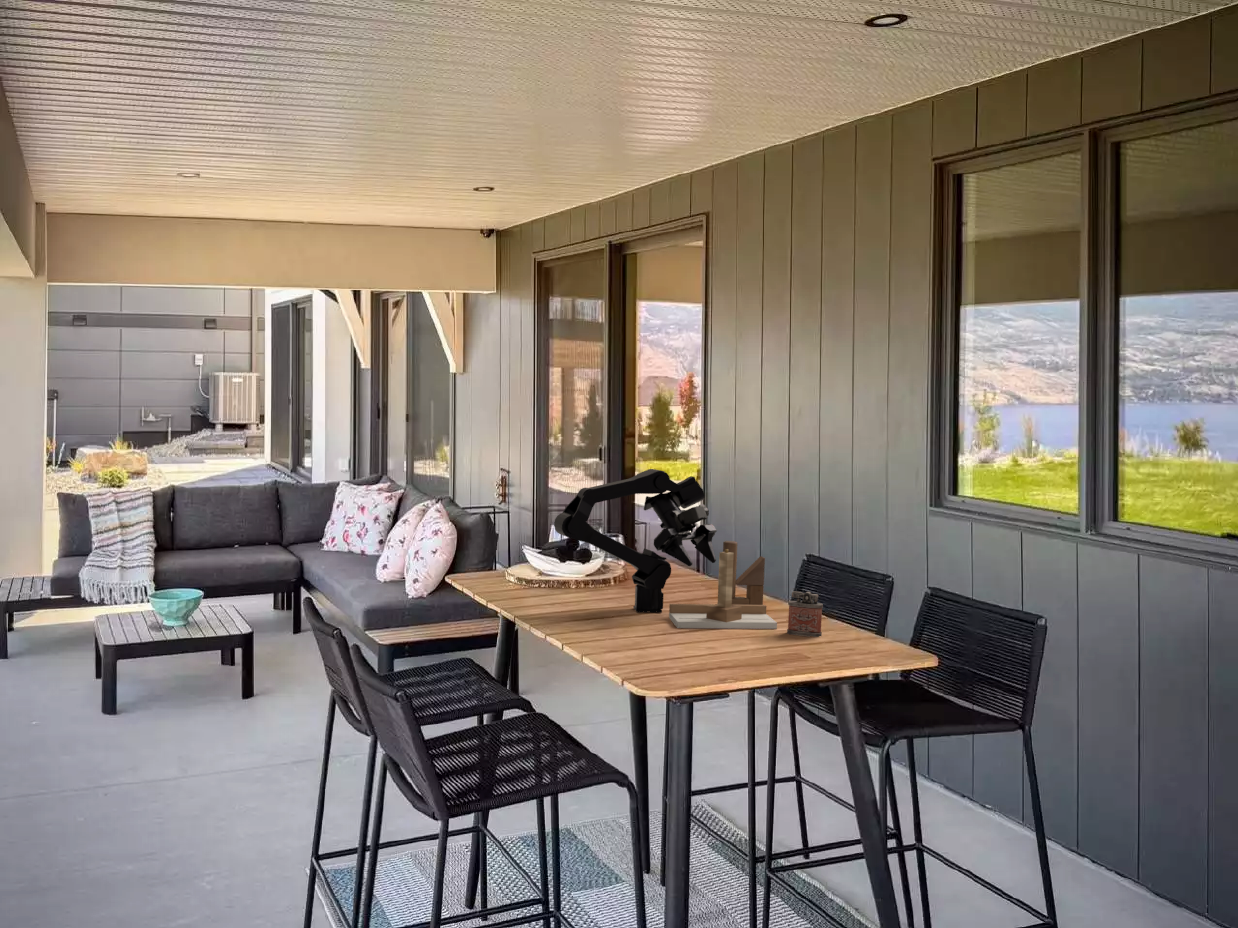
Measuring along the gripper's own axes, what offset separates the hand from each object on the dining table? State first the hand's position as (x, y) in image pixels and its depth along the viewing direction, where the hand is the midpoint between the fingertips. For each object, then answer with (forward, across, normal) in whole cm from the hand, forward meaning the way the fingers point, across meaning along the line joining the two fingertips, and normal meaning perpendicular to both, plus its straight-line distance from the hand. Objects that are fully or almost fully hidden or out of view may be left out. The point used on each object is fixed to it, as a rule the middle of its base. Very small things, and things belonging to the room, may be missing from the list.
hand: (702, 563), depth 289 cm
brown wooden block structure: (+10, +15, +9) cm, 21 cm away
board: (+15, -1, +4) cm, 15 cm away
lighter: (+29, +5, -10) cm, 31 cm away
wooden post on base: (+15, -2, +2) cm, 15 cm away
